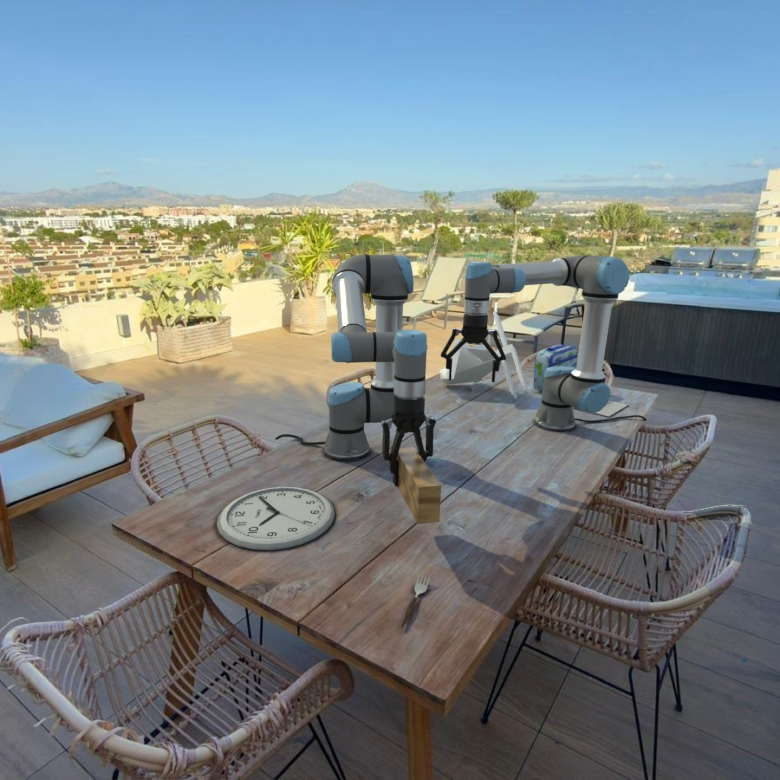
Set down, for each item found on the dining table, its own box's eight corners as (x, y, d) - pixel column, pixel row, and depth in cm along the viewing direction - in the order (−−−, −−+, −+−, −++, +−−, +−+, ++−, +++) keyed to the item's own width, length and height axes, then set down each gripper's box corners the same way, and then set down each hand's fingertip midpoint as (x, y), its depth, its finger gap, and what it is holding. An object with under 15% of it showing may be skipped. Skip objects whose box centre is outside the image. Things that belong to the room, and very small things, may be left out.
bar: (439, 521, 116) (441, 485, 113) (417, 524, 115) (418, 487, 112) (412, 478, 136) (413, 446, 133) (393, 480, 135) (394, 448, 132)
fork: (394, 628, 99) (394, 619, 99) (419, 578, 113) (419, 570, 113) (407, 632, 98) (408, 623, 98) (430, 581, 113) (431, 573, 112)
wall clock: (333, 542, 123) (202, 546, 121) (333, 547, 124) (203, 552, 121) (335, 482, 152) (229, 485, 149) (335, 487, 152) (230, 490, 150)
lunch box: (550, 397, 237) (555, 352, 231) (529, 391, 245) (533, 348, 238) (577, 386, 255) (582, 344, 249) (556, 381, 262) (561, 340, 256)
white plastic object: (461, 429, 252) (437, 405, 227) (444, 352, 274) (420, 323, 250) (535, 404, 240) (518, 377, 215) (510, 326, 262) (492, 293, 237)
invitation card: (608, 416, 214) (573, 407, 224) (608, 416, 214) (573, 408, 224) (628, 404, 229) (594, 396, 238) (628, 405, 229) (594, 397, 238)
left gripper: (440, 388, 131) (436, 473, 138) (369, 392, 127) (368, 479, 134) (450, 398, 124) (445, 486, 131) (375, 402, 120) (374, 493, 127)
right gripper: (434, 314, 158) (431, 381, 164) (518, 317, 155) (512, 385, 162) (435, 310, 165) (432, 374, 172) (515, 313, 163) (510, 378, 169)
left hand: (406, 482), depth 132 cm, fingers closed on bar, 5 cm apart
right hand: (471, 380), depth 167 cm, fingers open, 13 cm apart
